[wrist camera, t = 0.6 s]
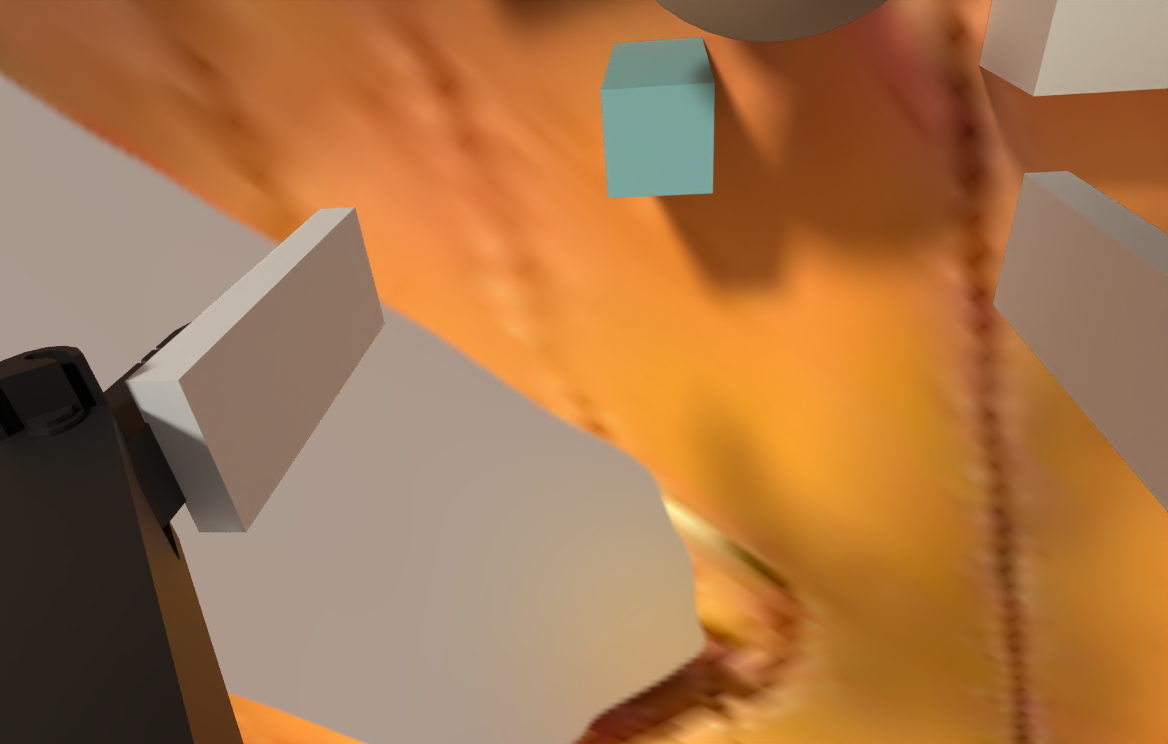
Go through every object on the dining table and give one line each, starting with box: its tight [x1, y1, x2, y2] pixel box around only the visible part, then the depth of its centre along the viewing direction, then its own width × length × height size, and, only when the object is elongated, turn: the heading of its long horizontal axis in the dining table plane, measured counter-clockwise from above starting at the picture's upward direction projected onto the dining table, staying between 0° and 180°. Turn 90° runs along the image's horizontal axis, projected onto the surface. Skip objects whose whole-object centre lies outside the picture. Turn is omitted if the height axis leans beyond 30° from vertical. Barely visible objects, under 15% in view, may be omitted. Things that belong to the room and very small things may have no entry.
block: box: [601, 37, 715, 198], centre depth 27 cm, size 4×4×8 cm
